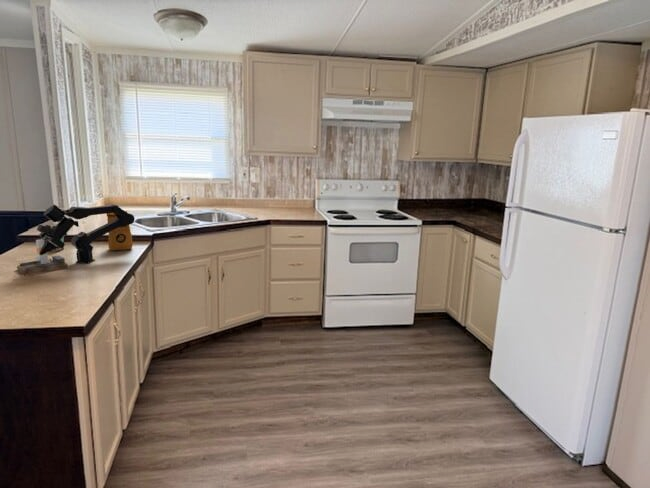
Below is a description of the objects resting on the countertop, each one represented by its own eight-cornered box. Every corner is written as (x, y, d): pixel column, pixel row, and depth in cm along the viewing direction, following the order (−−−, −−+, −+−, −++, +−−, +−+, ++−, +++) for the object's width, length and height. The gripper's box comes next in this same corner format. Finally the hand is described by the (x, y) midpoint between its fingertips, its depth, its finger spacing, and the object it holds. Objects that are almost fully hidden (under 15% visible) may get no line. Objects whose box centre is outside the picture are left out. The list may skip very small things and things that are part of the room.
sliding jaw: (45, 262, 214) (43, 238, 211) (50, 265, 209) (48, 240, 206) (36, 263, 211) (33, 239, 208) (41, 266, 206) (38, 242, 204)
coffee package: (133, 250, 249) (130, 212, 244) (109, 252, 244) (105, 213, 239) (132, 246, 258) (129, 209, 253) (108, 248, 252) (105, 210, 247)
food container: (69, 250, 245) (67, 233, 243) (57, 252, 241) (55, 234, 238) (62, 246, 253) (60, 229, 251) (50, 248, 249) (48, 230, 247)
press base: (59, 262, 221) (58, 254, 220) (68, 267, 213) (67, 259, 212) (17, 269, 208) (16, 260, 207) (24, 275, 200) (23, 265, 199)
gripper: (41, 215, 214) (17, 240, 209) (54, 220, 202) (29, 247, 196) (61, 229, 222) (38, 253, 216) (74, 235, 209) (51, 261, 204)
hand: (39, 253), depth 208 cm, fingers closed on sliding jaw, 3 cm apart
